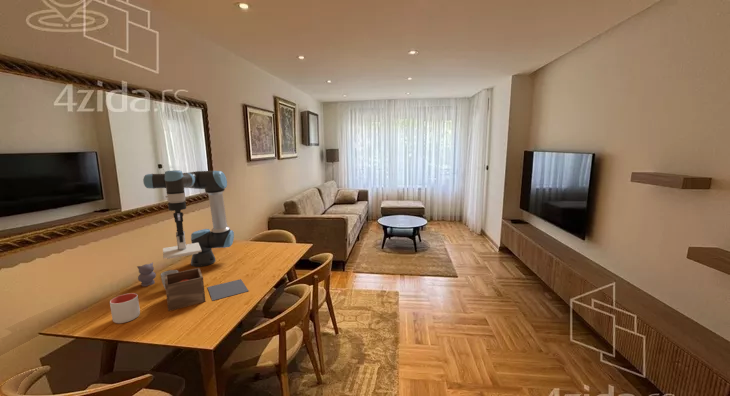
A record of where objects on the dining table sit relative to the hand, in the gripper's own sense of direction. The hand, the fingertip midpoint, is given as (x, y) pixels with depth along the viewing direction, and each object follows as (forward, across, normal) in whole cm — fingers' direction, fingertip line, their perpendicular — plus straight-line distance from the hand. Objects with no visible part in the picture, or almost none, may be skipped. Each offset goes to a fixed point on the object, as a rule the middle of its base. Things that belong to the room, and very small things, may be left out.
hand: (181, 247), depth 150 cm
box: (+28, 0, -1) cm, 29 cm away
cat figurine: (+29, -36, -18) cm, 49 cm away
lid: (+3, 0, 0) cm, 3 cm away
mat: (+28, 0, +19) cm, 34 cm away
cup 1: (+29, +4, -25) cm, 38 cm away
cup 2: (+29, -19, -7) cm, 35 cm away
